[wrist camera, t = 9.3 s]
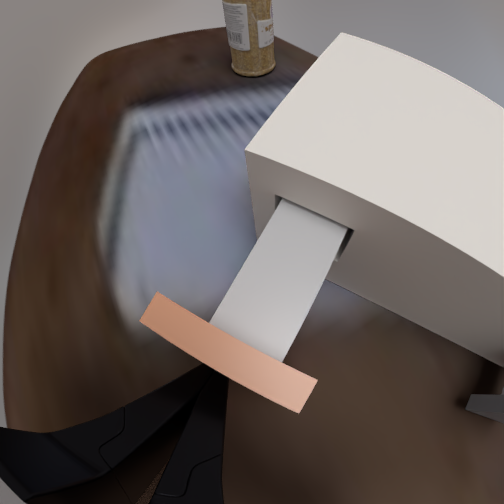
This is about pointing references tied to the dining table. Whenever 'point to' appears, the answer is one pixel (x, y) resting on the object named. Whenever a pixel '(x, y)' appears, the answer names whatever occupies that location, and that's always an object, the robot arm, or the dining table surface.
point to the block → (396, 185)
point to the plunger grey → (487, 406)
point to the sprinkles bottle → (250, 35)
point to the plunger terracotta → (261, 307)
